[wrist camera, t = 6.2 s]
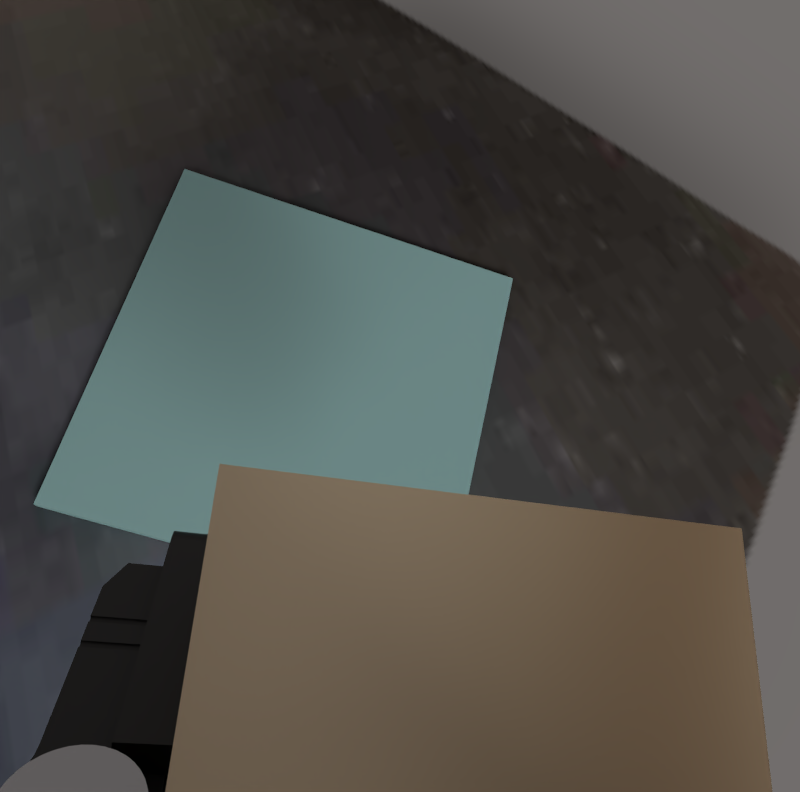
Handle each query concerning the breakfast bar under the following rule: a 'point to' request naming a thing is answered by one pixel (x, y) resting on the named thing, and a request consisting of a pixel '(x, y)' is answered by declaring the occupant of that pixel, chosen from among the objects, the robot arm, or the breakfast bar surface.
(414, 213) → the breakfast bar surface
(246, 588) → the block
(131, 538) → the breakfast bar surface
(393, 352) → the mat
